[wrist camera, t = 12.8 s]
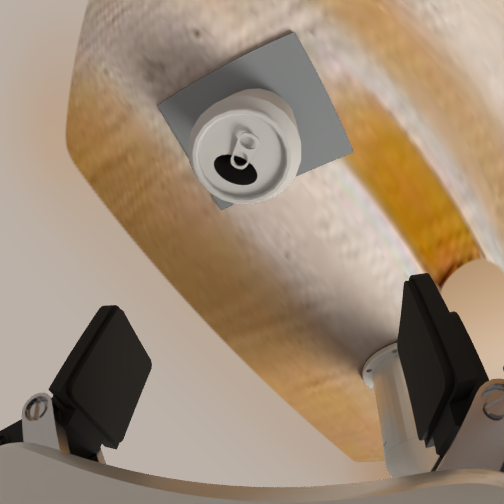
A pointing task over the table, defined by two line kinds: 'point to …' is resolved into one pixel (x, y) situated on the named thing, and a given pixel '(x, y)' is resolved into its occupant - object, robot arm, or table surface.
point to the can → (246, 147)
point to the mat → (275, 80)
